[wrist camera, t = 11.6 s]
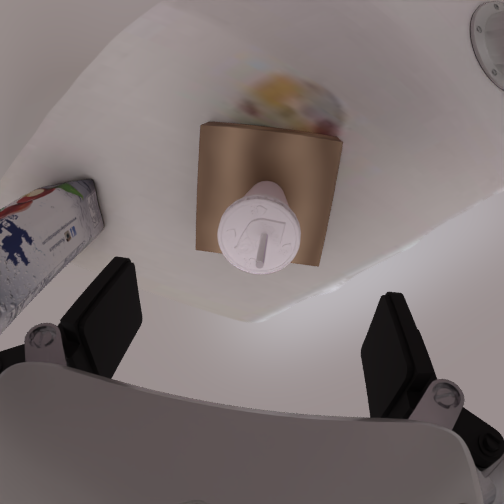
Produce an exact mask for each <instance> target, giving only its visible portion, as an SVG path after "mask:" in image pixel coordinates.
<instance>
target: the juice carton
mask: <svg viewBox="0 0 504 504" xmlns="http://www.w3.org/2000/svg"><path fill="white" fill-rule="evenodd" d="M103 228H104V225H103V220H102V216H101V213H100V209H99V205H98V201H97V196H96V190H95V186H94V182H93V180H80V181H73V182H67V183H63V184H60V185H52V186H46V187H41V188H38V189H36V190H34V191H32V192H30V193H28V194H26V195H24V196H23V197H21V198H19V199H17V200H16V201H14V202H12V203H10V204H9V205H7V206H5V207H4V208H2V209H0V335H1V334H2V332H3V331H4V330H5V329H6V328H7V327H8V325H10V324H11V322H12V321H13V320H14V319H15V318H16V317H17V316H18V315H19V314H20V313H21V311H22V310H23V309H24V308H25V307H26V306H27V305H28V304H29V303H30V302H31V301H32V300H33V299H34V297H36V295H37V294H38V293H39V292H40V291H41V290H42V289H43V288H44V287H45V286H46V285H47V284H48V283H49V282H50V281H51V280H52V279H53V278H54V277H55V276H56V275H57V274H58V273H59V272H60V271H61V270H62V269H63V268H64V267H65V266H66V265H67V264H68V263H70V262H71V261H72V260H73V259H74V258H75V257H76V256H77V255H78V254H79V253H80V252H81V251H82V250H83V249H84V248H85V247H86V246H87V245H89V243H90V242H91V241H92V240H93V239H94V238H95V237H96V236H97V235H98V234H99V233H100V232H101V231H102V230H103Z"/></svg>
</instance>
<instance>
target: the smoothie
mask: <svg viewBox="0 0 504 504" xmlns="http://www.w3.org/2000/svg"><path fill="white" fill-rule="evenodd" d="M217 236H218V243H219V247H220V249H221V251H222V253H223V255H224V256H225V258H226V259H227V260H228V261H229V262H230V263H231V264H232V265H234V266H235V267H237V268H238V269H240V270H242V271H245V272H248V273H252V274H269V273H273V272H276V271H279V270H281V269H282V268H284V267H285V266H287V265H288V264H289V263H290V262H291V261H292V260H293V259H294V257H295V256H296V254H297V252H298V249H299V246H300V237H301V230H300V224H299V221H298V219H297V217H296V215H295V213H294V212H293V211H292V210H291V209H290V208H289V205H288V203H287V200H286V197H285V195H284V192H283V190H282V188H281V187H280V186H279V185H277V184H276V183H274V182H271V181H262V182H259V183H257V184H255V185H254V186H253V187H252V188H251V189H250V190H249V191H248V192H247V193H246V195H245V196H244V197H243V198H241V199H239V200H236V201H235V202H234V203H232V204H231V205H230V206H229V207H228V208H227V209H226V211H225V212H224V214H223V215H222V217H221V220H220V223H219V227H218V233H217Z"/></svg>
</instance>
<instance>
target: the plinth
mask: <svg viewBox="0 0 504 504" xmlns="http://www.w3.org/2000/svg"><path fill="white" fill-rule="evenodd" d="M342 145H343V142H342V141H341V140H340V139H339V138H338V137H334V136H328V135H323V134H316V133H310V132H303V131H297V130H289V129H282V128H274V127H265V126H256V125H246V124H235V123H223V122H207V123H205V124H202V125H201V126H200V142H199V161H198V183H197V213H196V250H200V251H208V252H215V253H222V251H221V249H220V247H219V243H218V236H217V233H218V227H219V223H220V220H221V217H222V215H223V214H224V212H225V211H226V209H227V208H228V207H229V206H230V205H231V204H232V203H234V202H235V201H236V200H239V199H241V198H243V197H244V196H245V195H246V193H247V192H248V191H249V190H250V189H251V188H252V187H253V186H254V185H255V184H257V183H259V182H262V181H271V182H274V183H276V184H277V185H279V186H280V187H281V188H282V190H283V192H284V195H285V197H286V200H287V203H288V205H289V208H290V209H291V210H292V211H293V212H294V213H295V215H296V217H297V219H298V221H299V224H300V230H301V237H300V246H299V249H298V252H297V254H296V256H295V257H294V259H293V260H292V261H291V262H290V263H296V264H304V265H311V266H319V263H320V258H321V254H322V249H323V245H324V240H325V235H326V231H327V226H328V221H329V216H330V211H331V206H332V201H333V196H334V190H335V185H336V180H337V174H338V168H339V163H340V157H341V151H342ZM222 254H223V253H222Z"/></svg>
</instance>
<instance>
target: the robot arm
mask: <svg viewBox="0 0 504 504" xmlns="http://www.w3.org/2000/svg"><path fill="white" fill-rule="evenodd" d="M471 40H472V44H473V48H474V51H475V54H476V57H477V59H478V61H479V63H480V65H481V67H482V68H483V70H484V71H485V73H486V74H487V76H488V77H489V78H490V79H491V80H492V81H493V82H494V83H495V84H496V85H497V86H498V87H499V88H501V89H503V90H504V3H501V2H488V3H485V4H483V5H480V6H479V7H478V8H477V9H476V11H475V12H474V14H473V17H472V20H471ZM60 321H61V322H60V324H59V325H58V326H56V325H54V324H52V323H41V324H38V325H36V326H34V327H33V328H31V329H30V330H29V332H27V334H26V336H25V341H24V342H25V344H23V345H20V346H16V347H13V348H10V349H7V350H4V351H1V352H0V504H504V439H503V437H502V436H501V434H500V433H499V432H498V431H497V430H496V429H494V428H493V427H491V426H490V425H488V424H487V423H485V422H484V421H483V420H481V419H480V418H478V417H477V416H475V415H474V414H472V413H471V412H469V411H468V410H466V409H465V408H464V407H463V405H464V395H463V392H462V390H461V389H460V388H459V387H458V385H456V384H455V383H454V382H452V381H449V380H446V379H437V377H436V375H435V372H434V369H433V366H432V363H431V360H430V358H429V355H428V352H427V350H426V347H425V344H424V342H423V339H422V336H421V334H420V332H419V330H418V329H417V327H416V325H415V322H414V320H413V317H412V315H411V312H410V310H409V308H408V305H407V303H406V300H405V298H404V296H403V294H402V293H396V292H387V293H386V295H382V296H381V298H380V301H379V304H378V306H377V309H376V312H375V314H374V317H373V320H372V323H371V325H370V328H369V330H368V333H367V335H366V338H365V340H364V343H363V345H362V348H361V358H362V365H363V370H364V377H365V383H366V389H367V396H368V403H369V410H370V418H364V417H363V418H362V417H339V416H321V415H307V414H295V413H285V412H276V411H267V410H259V409H252V408H244V407H238V406H231V405H225V404H218V403H213V402H207V401H202V400H197V399H191V398H187V397H182V396H177V395H172V394H168V393H164V392H159V391H155V390H151V389H147V388H143V387H139V386H135V385H131V384H127V383H124V382H120V381H117V380H113V379H111V378H112V376H113V374H114V373H115V371H116V369H117V367H118V365H119V363H120V362H121V360H122V358H123V356H124V354H125V353H126V351H127V349H128V347H129V345H130V344H131V342H132V340H133V338H134V336H135V335H136V333H137V331H138V329H139V327H140V326H141V323H142V312H141V306H140V300H139V293H138V286H137V279H136V271H135V265H134V263H131V260H130V259H129V258H123V257H114V258H113V259H112V260H111V262H110V263H109V264H108V265H107V266H106V267H105V268H104V269H103V270H102V272H101V273H100V274H99V275H98V276H97V277H96V278H95V280H94V281H93V282H92V283H91V284H90V285H89V286H88V287H87V289H86V290H85V291H84V292H83V294H82V295H81V296H80V297H79V298H78V299H77V300H76V302H75V303H74V304H73V305H72V306H71V308H70V309H69V310H68V311H67V313H66V314H65V315H64V316H63V317H62V319H61V320H60Z"/></svg>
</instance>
